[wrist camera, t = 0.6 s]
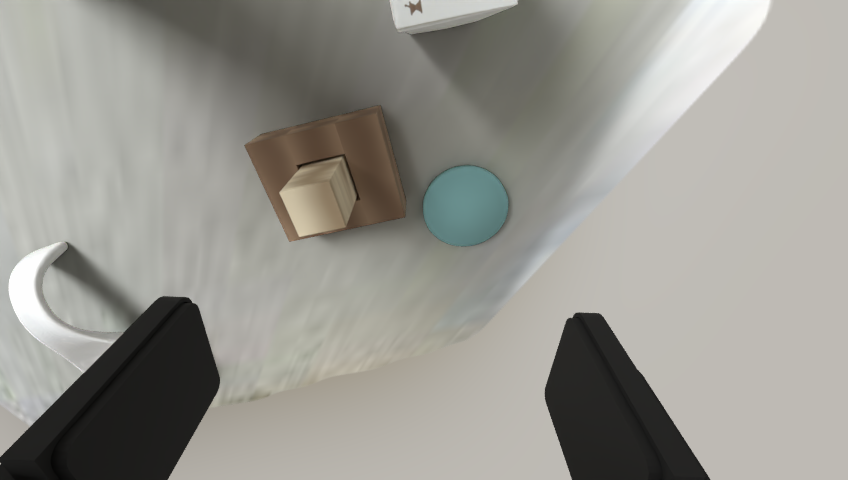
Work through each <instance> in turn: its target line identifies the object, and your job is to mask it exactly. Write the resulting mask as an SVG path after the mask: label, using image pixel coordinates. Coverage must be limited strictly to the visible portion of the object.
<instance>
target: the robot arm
mask: <svg viewBox="0 0 848 480" xmlns="http://www.w3.org/2000/svg"><path fill="white" fill-rule="evenodd" d="M219 384H220V377H219V374H218V370H217V367H216V364H215V360H214V357H213V354H212V351H211V347H210V344H209V341H208V337H207V334H206V331H205V327H204V324H203V321H202V318H201V314H200V311H199V308H198V306H197V305H196V304H194V303H192V301H191V300H190V299H189V298H187V297H168V296H163V297H160V298H158V299H157V300H156V301H155V302H154V303H153V304H152V305H151V306H150V307H149V308H148V309H147V310H146V311H145V312H144V313H143V314H142V315H141V316H140V317H139V318H138V319H137V320H136V321H135V322H134V323H133V324H132V325H131V326H130V327H129V328H128V329H127V330H126V331H125V332H124V333H123V334H122V335H121V336H120V337H119V338H118V339H117V340H116V341H115V342H114V343H113V344H112V345H111V346H110V347H109V348H108V349H107V350H106V351H105V352H104V353H103V354H102V355H101V356H100V357H99V358H98V359H97V360H96V361H95V362H94V363H93V364H92V365H91V366H90V367H89V368H88V369H87V370H86V371H85V372H84V373H83V374H82V375H81V376H80V377H79V378H78V379H77V380H76V381H75V382H74V383H73V384H72V385H71V386H70V387H69V388H68V389H67V390H66V391H65V392H64V393H63V395H62V396H61V397H60V398H59V399H58V400H57V401H56V402H55V403H54V404H53V405H52V406H51V407H50V408H49V409H48V410H47V411H46V412H45V413H44V414H43V415H42V416H41V417H40V418H39V419H38V420H37V421H36V422H35V423H34V424H33V425H32V426H31V427H30V428H29V429H28V430H27V431H26V432H25V433H24V434H23V435H22V436H21V437H20V438H19V439H18V440H17V441H16V442H15V443H14V444H13V445H12V446H11V447H10V448H9V449H8V450H7V451H6V452H5V453H4V454H3V455H2V456H1V457H0V463H1V465H0V480H168V478H169V476H170V474H171V473H172V471H173V469H174V467H175V466H176V464H177V462H178V460H179V459H180V457H181V455H182V453H183V452H184V450H185V448H186V446H187V444H188V443H189V441H190V439H191V437H192V436H193V434H194V432H195V430H196V429H197V427H198V425H199V423H200V422H201V420H202V418H203V416H204V415H205V413H206V411H207V409H208V408H209V406H210V404H211V402H212V401H213V399H214V397H215V395H216V393H217V391H218V389H219ZM545 400H546V404H547V407H548V410H549V413H550V416H551V419H552V422H553V425H554V427H555V430H556V433H557V436H558V439H559V442H560V445H561V448H562V451H563V454H564V457H565V460H566V463H567V466H568V468H569V472H570V475H571V477H572V480H710V478H709V477H708V475H707V474H706V472H705V471H704V469H703V467H702V466H701V464H700V463H699V461H698V460H697V458H696V457H695V455H694V454H693V452H692V450H691V449H690V448H689V446H688V444H687V443H686V441H685V440H684V438H683V437H682V435H681V434H680V432H679V430H678V429H677V427H676V426H675V425H674V423H673V421H672V420H671V418H670V417H669V415H668V414H667V412H666V410H665V409H664V407H663V406H662V404H661V403H660V401H659V400H658V398H657V397H656V395H655V394H654V392H653V390H652V389H651V387H650V386H649V384H648V383H647V381H646V380H645V378H644V377H643V375H642V374H641V373H640V372H639V371H638V370H637V369H636V367H635V365H634V364H633V362H632V361H631V359H630V358H629V356H628V355H627V353H626V351H625V350H624V348H623V347H622V345H621V344H620V342H619V341H618V339H617V338H616V336H615V335H614V333H613V331H612V330H611V328H610V327H609V325H608V324H607V322H606V320H605V319H604V317H603V316H602V315H601V314H599V313H575V314H574V316H573V318H569V319H567V321H566V324H565V327H564V330H563V333H562V336H561V340H560V343H559V346H558V349H557V352H556V356H555V359H554V362H553V365H552V368H551V372H550V375H549V378H548V381H547V384H546V387H545Z"/></svg>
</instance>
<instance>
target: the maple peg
mask: <svg viewBox="0 0 848 480" xmlns="http://www.w3.org/2000/svg"><path fill="white" fill-rule="evenodd" d="M279 193H280V195H281V198H282V200H283V202H284V204H285V207H286V209H287V211H288V213H289V215H290V218H291V220H292V222H293V224H294V227H295V229H296V231H297V233H298V235H299V237H302V236H307V235H311V234H316V233H321V232H325V231H330V230H335V229H340V228H344V227H346V226H347V223H348V220H349V217H350V215H351V212H352V209H353V206H354V203H355V201H356V198H357V195H358V191H357V188H356V185H355V183H354V180H353V177H352V174H351V171H350V168H349V165H348V162H347V159H346V156H345V154H342V155H337V156H333V157H329V158H324V159H320V160H316V161H312V162H307V163H304V164H303V165H302V166H301V168H300V169H299V170H298V171H297V172H296V173H295V175H294V176H293V177H292V178H291V179H290V180H289V182H288V183H287V184H286V185H285V186H284V188H283V189H282V190H281V191H280V192H279Z"/></svg>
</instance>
